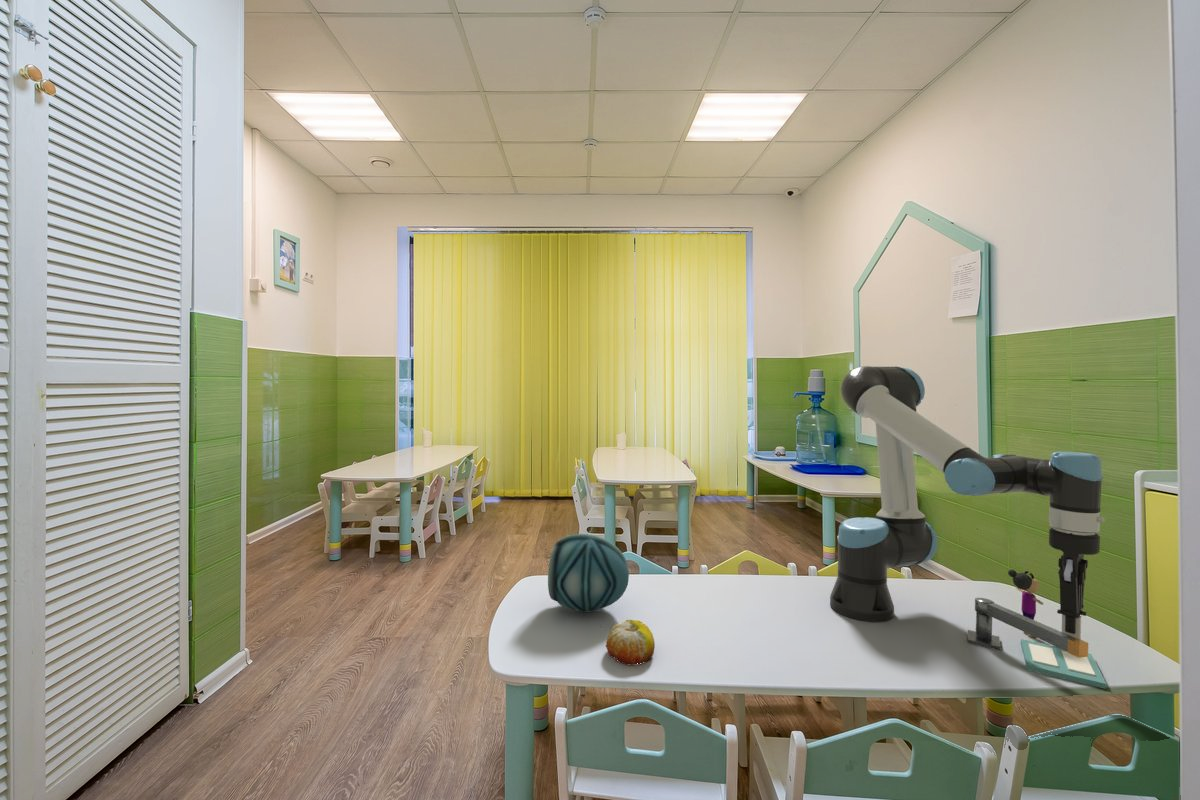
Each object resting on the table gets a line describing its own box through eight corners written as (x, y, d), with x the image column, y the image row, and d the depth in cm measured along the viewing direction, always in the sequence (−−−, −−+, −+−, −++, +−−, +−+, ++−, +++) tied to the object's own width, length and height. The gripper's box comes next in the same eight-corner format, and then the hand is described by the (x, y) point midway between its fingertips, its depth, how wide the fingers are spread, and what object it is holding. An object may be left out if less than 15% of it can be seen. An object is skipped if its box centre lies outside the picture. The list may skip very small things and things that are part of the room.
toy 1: (560, 594, 147) (560, 523, 147) (631, 598, 144) (631, 526, 144) (544, 624, 129) (544, 543, 128) (625, 629, 126) (625, 547, 125)
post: (967, 643, 120) (968, 614, 120) (967, 633, 125) (968, 605, 125) (1000, 650, 117) (1001, 621, 117) (999, 639, 122) (999, 611, 122)
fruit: (603, 639, 120) (614, 606, 120) (647, 653, 120) (657, 620, 120) (602, 664, 109) (614, 627, 109) (650, 680, 109) (662, 643, 109)
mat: (1027, 669, 109) (1027, 663, 109) (1020, 643, 120) (1020, 637, 120) (1106, 689, 102) (1106, 682, 102) (1091, 658, 114) (1091, 652, 114)
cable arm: (970, 609, 122) (971, 597, 122) (983, 608, 123) (983, 596, 123) (1076, 658, 100) (1076, 644, 100) (1090, 656, 101) (1091, 642, 101)
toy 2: (1051, 646, 119) (1052, 580, 119) (1023, 643, 120) (1024, 578, 120) (1023, 625, 129) (1025, 565, 129) (998, 623, 130) (999, 563, 130)
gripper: (1094, 540, 97) (1091, 665, 98) (1104, 528, 106) (1101, 643, 106) (1042, 532, 103) (1039, 650, 104) (1056, 520, 111) (1053, 630, 112)
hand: (1070, 646), depth 105 cm, fingers closed
